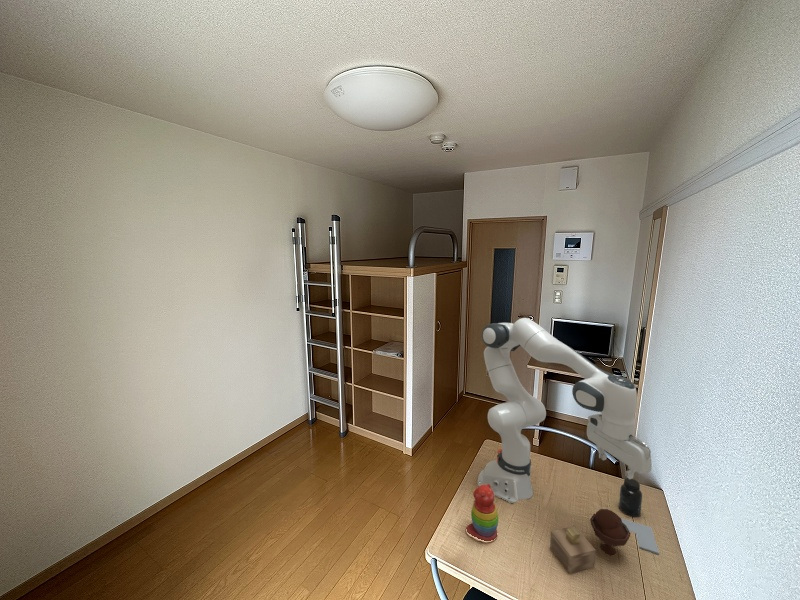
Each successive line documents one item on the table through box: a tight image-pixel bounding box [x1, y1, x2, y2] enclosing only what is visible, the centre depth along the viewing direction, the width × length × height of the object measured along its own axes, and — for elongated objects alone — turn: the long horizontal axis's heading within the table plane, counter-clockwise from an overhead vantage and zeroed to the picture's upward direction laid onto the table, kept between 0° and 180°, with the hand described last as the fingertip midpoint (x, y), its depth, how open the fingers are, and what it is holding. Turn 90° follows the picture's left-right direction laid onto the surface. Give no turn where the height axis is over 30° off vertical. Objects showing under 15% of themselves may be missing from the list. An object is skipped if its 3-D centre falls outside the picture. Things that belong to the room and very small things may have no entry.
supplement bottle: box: [618, 477, 643, 518], centre depth 121 cm, size 7×7×12 cm
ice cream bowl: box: [590, 508, 631, 557], centre depth 104 cm, size 11×11×15 cm
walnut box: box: [549, 534, 596, 575], centre depth 103 cm, size 9×9×6 cm
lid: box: [550, 525, 597, 559], centre depth 102 cm, size 9×9×4 cm
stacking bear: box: [465, 484, 499, 541], centre depth 113 cm, size 11×10×18 cm
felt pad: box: [620, 517, 660, 555], centre depth 111 cm, size 11×11×1 cm
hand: (615, 467), depth 102 cm, fingers open, 8 cm apart
